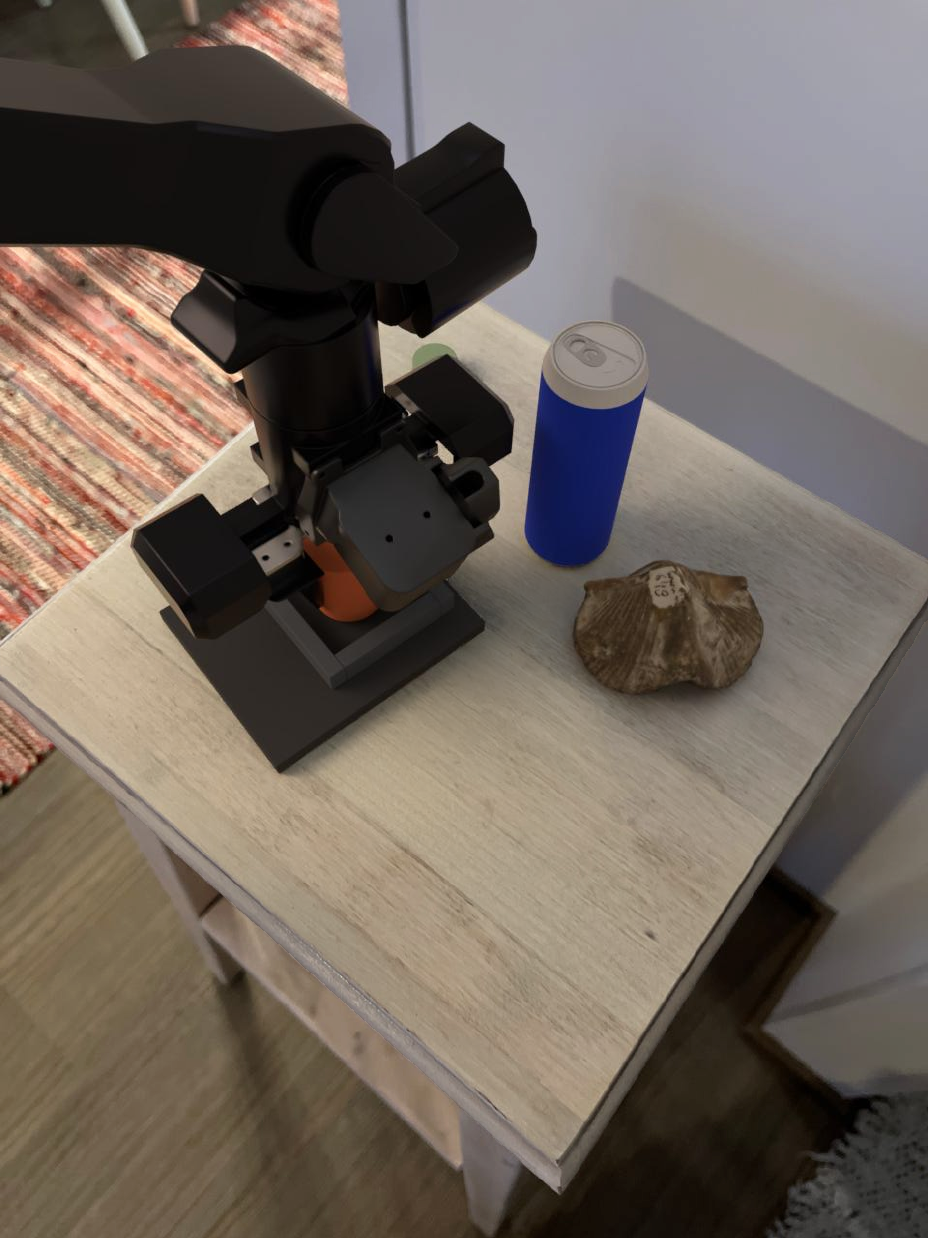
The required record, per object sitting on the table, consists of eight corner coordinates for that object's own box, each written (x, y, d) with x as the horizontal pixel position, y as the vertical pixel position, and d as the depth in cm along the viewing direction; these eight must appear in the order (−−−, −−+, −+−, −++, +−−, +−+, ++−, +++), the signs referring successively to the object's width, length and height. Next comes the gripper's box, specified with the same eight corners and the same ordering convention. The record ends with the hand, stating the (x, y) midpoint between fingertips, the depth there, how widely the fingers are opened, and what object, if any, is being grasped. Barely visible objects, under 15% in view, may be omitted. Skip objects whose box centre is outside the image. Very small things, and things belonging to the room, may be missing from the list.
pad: (431, 399, 65) (430, 382, 64) (403, 372, 67) (402, 356, 65) (466, 378, 66) (467, 361, 65) (439, 352, 68) (438, 336, 66)
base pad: (279, 774, 52) (271, 756, 50) (162, 620, 57) (151, 596, 55) (485, 630, 57) (486, 607, 54) (361, 498, 61) (358, 472, 59)
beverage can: (626, 533, 60) (674, 350, 47) (573, 587, 58) (608, 412, 45) (559, 488, 62) (588, 299, 49) (506, 539, 60) (521, 356, 47)
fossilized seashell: (770, 573, 56) (593, 554, 58) (776, 565, 49) (577, 544, 52) (752, 706, 56) (577, 681, 58) (756, 715, 49) (559, 687, 52)
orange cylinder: (341, 635, 54) (331, 586, 50) (300, 586, 56) (287, 535, 52) (399, 596, 56) (395, 545, 51) (357, 550, 57) (350, 497, 53)
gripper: (226, 631, 35) (287, 789, 49) (609, 389, 41) (570, 589, 55) (76, 441, 40) (171, 634, 53) (443, 248, 46) (445, 465, 59)
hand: (347, 581), depth 55 cm, fingers closed on orange cylinder, 4 cm apart
